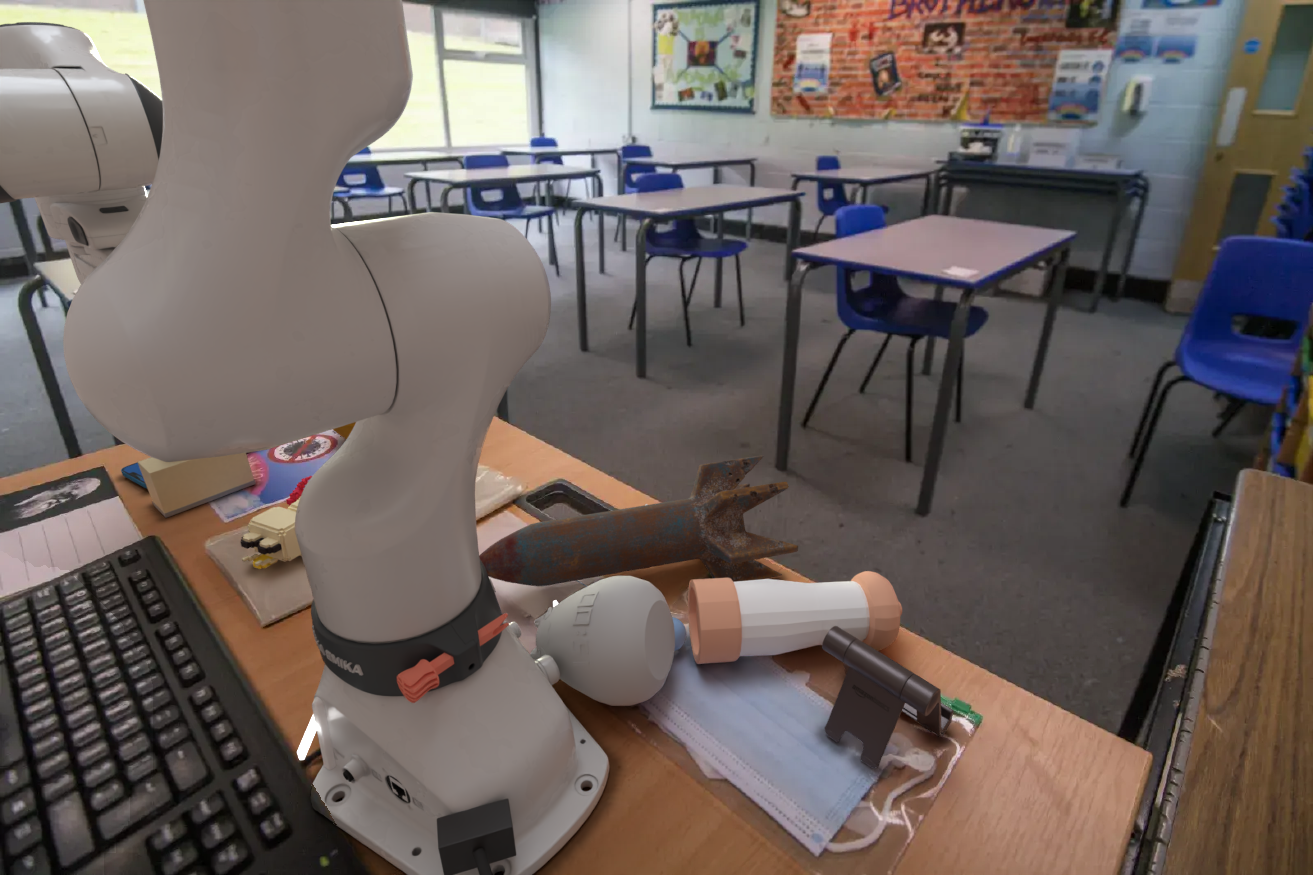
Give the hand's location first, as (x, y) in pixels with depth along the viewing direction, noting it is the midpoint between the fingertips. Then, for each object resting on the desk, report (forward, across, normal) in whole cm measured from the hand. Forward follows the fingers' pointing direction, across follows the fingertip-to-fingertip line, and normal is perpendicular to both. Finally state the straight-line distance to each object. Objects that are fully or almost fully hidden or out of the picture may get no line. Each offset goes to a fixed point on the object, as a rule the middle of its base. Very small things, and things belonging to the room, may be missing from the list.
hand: (144, 345), depth 75 cm
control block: (+20, 0, +1) cm, 20 cm away
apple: (+20, +1, +21) cm, 29 cm away
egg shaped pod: (+19, +51, +18) cm, 57 cm away
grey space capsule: (+13, +62, +14) cm, 65 cm away
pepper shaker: (+15, +61, +19) cm, 66 cm away
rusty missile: (+14, +42, +11) cm, 45 cm away
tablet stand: (+19, +77, +23) cm, 83 cm away
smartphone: (+20, -10, +4) cm, 22 cm away
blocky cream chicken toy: (+20, +17, +10) cm, 28 cm away
